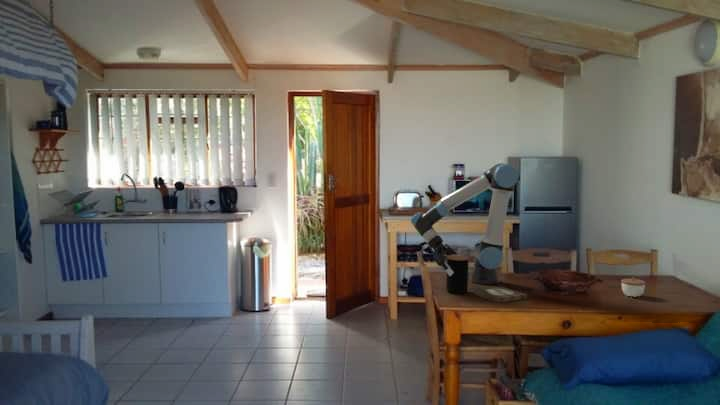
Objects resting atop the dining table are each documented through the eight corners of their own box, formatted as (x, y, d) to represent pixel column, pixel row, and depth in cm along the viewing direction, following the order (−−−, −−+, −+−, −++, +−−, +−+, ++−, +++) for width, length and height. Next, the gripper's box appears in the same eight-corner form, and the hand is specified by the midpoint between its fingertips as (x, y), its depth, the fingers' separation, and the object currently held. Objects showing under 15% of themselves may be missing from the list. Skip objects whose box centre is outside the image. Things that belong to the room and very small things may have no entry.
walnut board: (501, 290, 301) (501, 286, 301) (526, 298, 285) (526, 294, 285) (473, 294, 292) (473, 289, 292) (498, 302, 276) (498, 298, 276)
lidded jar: (621, 297, 290) (622, 278, 289) (619, 292, 300) (621, 274, 299) (645, 299, 286) (646, 280, 285) (643, 294, 296) (644, 276, 295)
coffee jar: (469, 290, 299) (470, 255, 298) (465, 295, 289) (466, 259, 288) (448, 288, 303) (449, 254, 301) (444, 293, 293) (445, 257, 291)
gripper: (440, 240, 314) (464, 272, 306) (415, 246, 294) (441, 281, 286) (449, 232, 310) (474, 263, 302) (425, 237, 290) (451, 271, 283)
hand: (458, 272), depth 294 cm, fingers open, 13 cm apart
